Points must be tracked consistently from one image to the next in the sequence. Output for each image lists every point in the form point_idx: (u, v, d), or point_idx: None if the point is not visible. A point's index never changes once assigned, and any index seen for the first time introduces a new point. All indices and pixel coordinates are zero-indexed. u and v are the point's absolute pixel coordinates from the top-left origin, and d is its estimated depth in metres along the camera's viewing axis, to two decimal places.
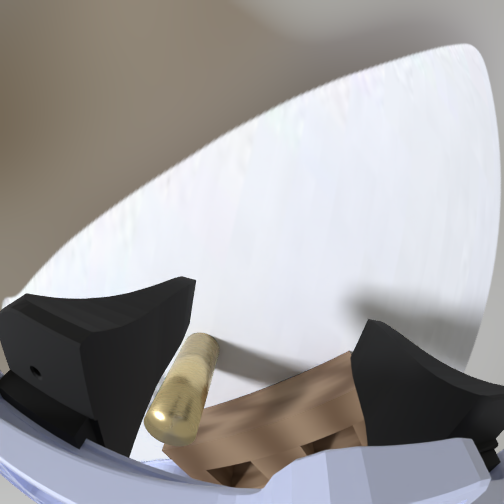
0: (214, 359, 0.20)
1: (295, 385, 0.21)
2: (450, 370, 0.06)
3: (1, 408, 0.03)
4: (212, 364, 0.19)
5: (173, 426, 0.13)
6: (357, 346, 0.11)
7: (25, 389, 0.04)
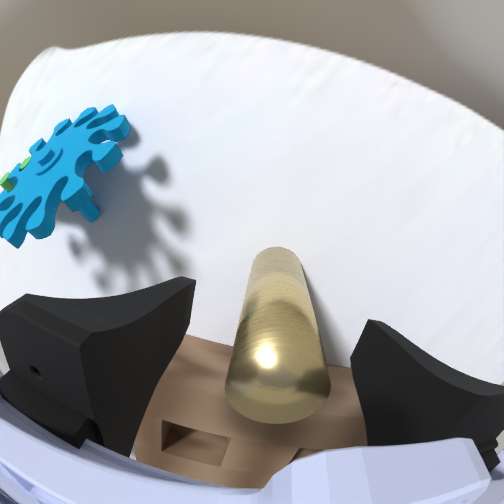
0: None
1: (335, 377, 0.17)
2: (450, 370, 0.06)
3: (1, 408, 0.03)
4: None
5: (292, 391, 0.07)
6: (357, 346, 0.11)
7: (25, 389, 0.04)
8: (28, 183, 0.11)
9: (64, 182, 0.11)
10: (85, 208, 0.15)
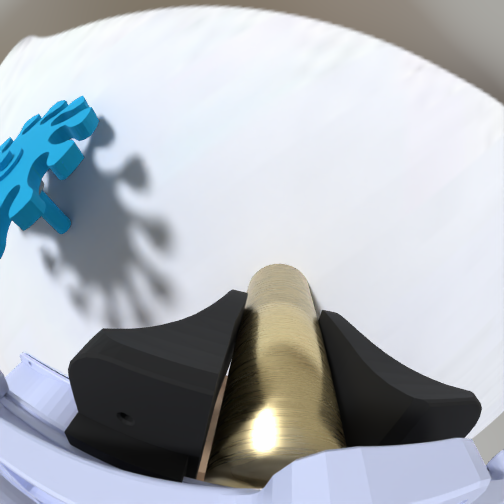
0: None
1: None
2: (398, 367, 0.06)
3: (1, 408, 0.03)
4: None
5: None
6: None
7: (104, 434, 0.04)
8: None
9: (18, 192, 0.08)
10: (52, 218, 0.12)
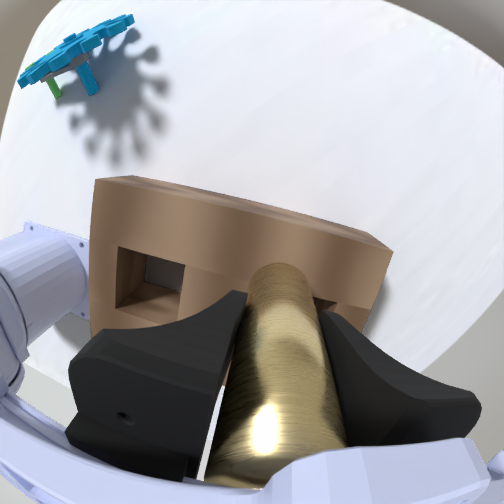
0: None
1: (301, 216, 0.18)
2: (398, 367, 0.06)
3: (1, 408, 0.03)
4: None
5: None
6: None
7: (104, 434, 0.04)
8: (53, 54, 0.12)
9: None
10: (89, 81, 0.16)
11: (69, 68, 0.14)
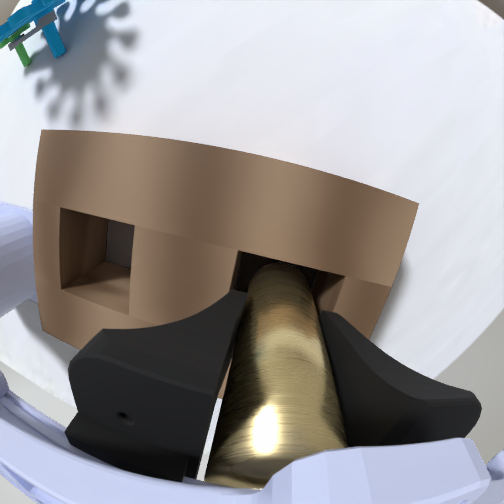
0: None
1: None
2: (398, 367, 0.06)
3: (1, 408, 0.03)
4: None
5: None
6: None
7: (104, 434, 0.04)
8: None
9: None
10: (55, 42, 0.12)
11: (35, 30, 0.10)
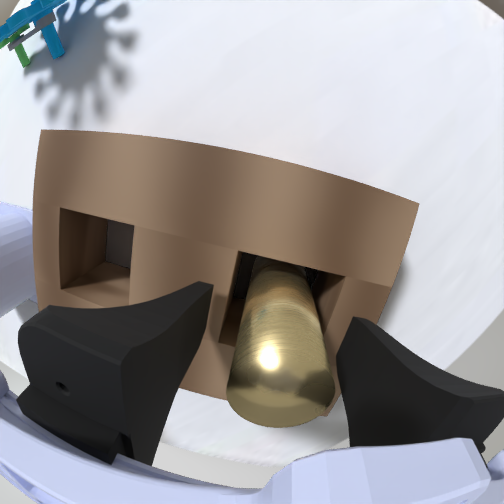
0: None
1: None
2: (434, 369, 0.06)
3: (1, 408, 0.03)
4: None
5: (296, 394, 0.07)
6: (342, 344, 0.11)
7: (49, 405, 0.04)
8: None
9: None
10: (53, 43, 0.12)
11: (34, 31, 0.10)
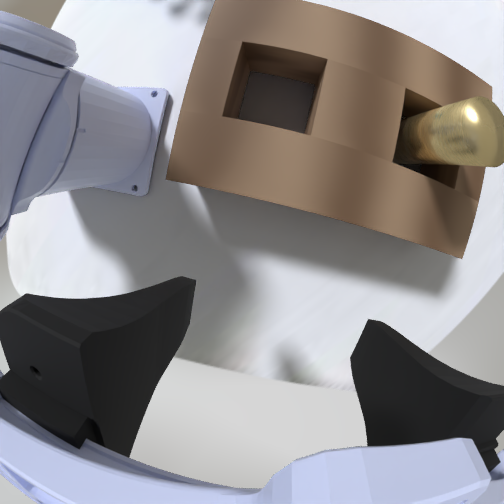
0: None
1: None
2: (450, 370, 0.06)
3: (1, 408, 0.03)
4: None
5: (495, 132, 0.07)
6: (357, 346, 0.11)
7: (25, 389, 0.04)
8: None
9: None
10: None
11: None
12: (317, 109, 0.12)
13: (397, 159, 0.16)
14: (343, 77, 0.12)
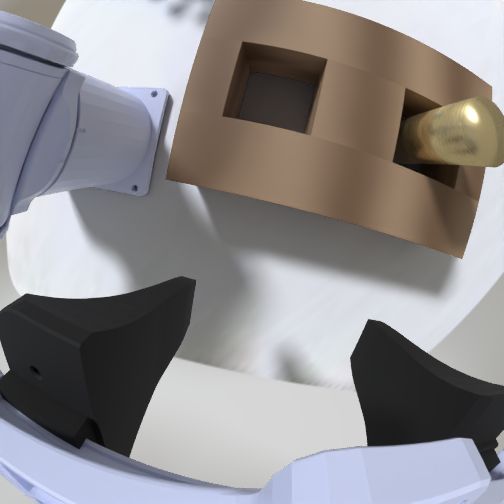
0: None
1: None
2: (450, 370, 0.06)
3: (1, 408, 0.03)
4: None
5: (495, 132, 0.07)
6: (357, 346, 0.11)
7: (25, 389, 0.04)
8: None
9: None
10: None
11: None
12: (317, 109, 0.12)
13: (397, 159, 0.16)
14: (343, 77, 0.12)
